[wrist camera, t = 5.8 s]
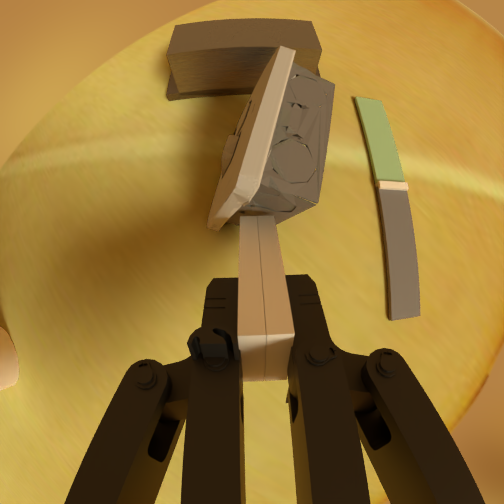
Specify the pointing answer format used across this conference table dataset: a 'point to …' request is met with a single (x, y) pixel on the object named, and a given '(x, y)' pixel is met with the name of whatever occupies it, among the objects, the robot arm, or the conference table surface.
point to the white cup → (7, 361)
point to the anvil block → (234, 54)
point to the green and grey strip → (392, 211)
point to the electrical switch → (276, 146)
